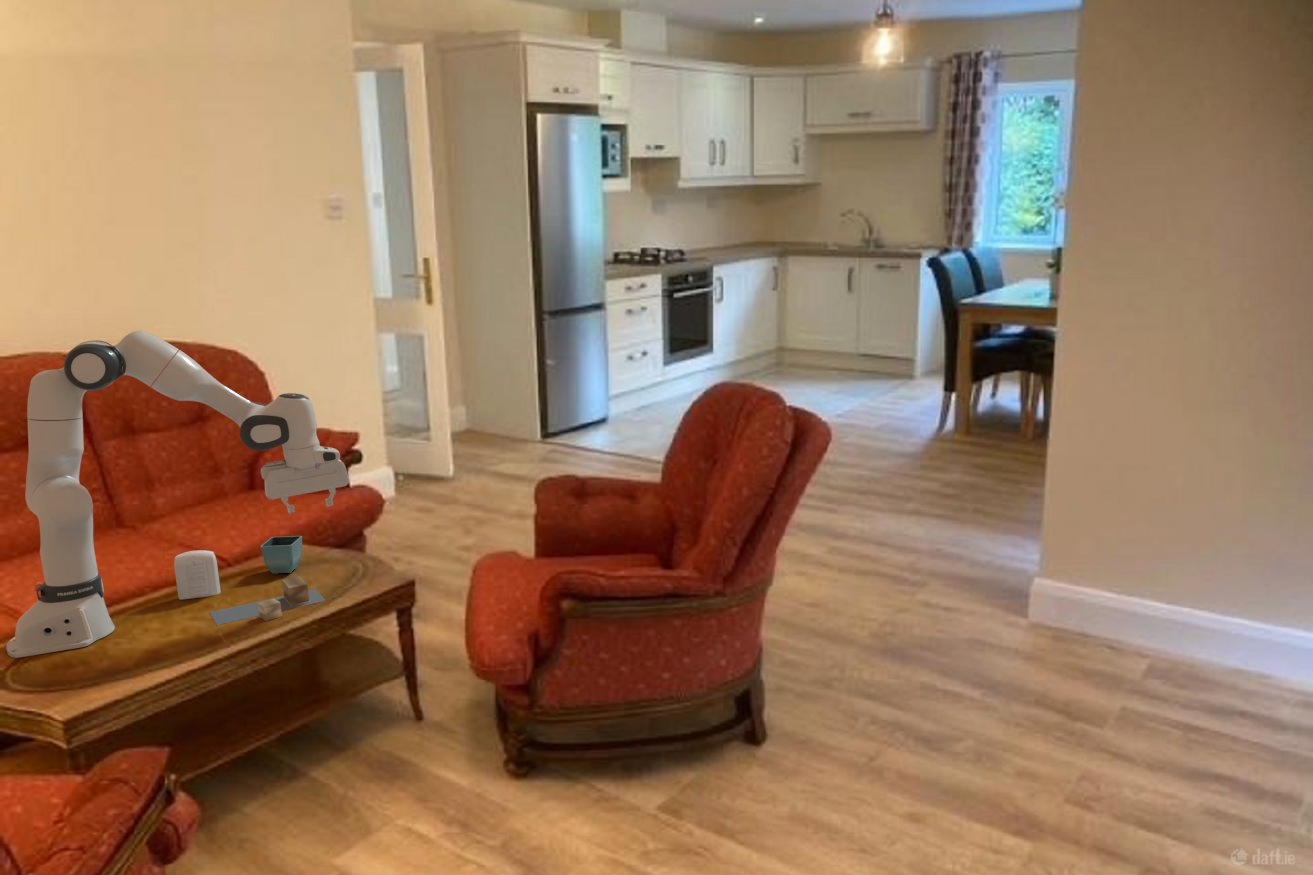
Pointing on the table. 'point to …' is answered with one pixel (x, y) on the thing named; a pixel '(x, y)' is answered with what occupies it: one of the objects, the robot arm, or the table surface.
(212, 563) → the white upright rounded block
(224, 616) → the mat
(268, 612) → the maple cube
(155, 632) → the table surface
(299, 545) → the flower pot
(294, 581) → the walnut block
